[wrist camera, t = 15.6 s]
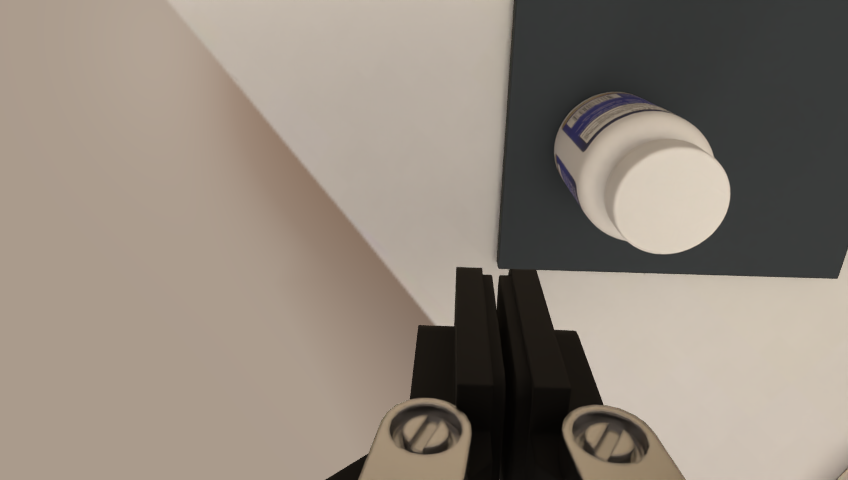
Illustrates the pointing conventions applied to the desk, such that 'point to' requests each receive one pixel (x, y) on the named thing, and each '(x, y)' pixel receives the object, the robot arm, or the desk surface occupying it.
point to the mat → (699, 105)
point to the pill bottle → (641, 173)
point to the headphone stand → (844, 476)
